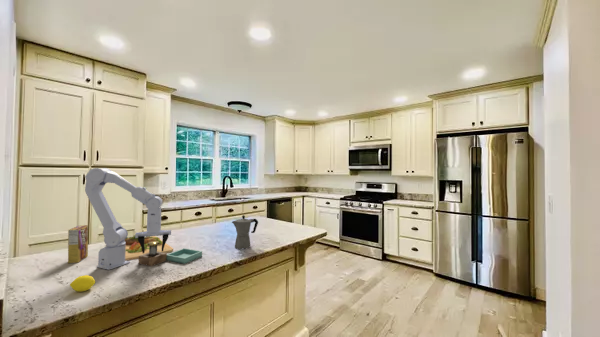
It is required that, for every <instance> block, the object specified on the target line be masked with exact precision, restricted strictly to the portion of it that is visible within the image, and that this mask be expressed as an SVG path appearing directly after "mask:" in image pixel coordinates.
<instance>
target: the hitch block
mask: <svg viewBox="0 0 600 337" xmlns="http://www.w3.org/2000/svg"><path fill="white" fill-rule="evenodd" d="M167 254H168V253H163V252H157V255H156V256H153V257H151V256H149V253H146V254H143V255H140V256H139V258H138V264H139V265H144V266H149V267H153V266H155V265H158V264H162V263H163V262H164V263H165V262H166V261H167V260H166V259H167Z"/></svg>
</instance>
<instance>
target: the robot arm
mask: <svg viewBox="0 0 600 337" xmlns="http://www.w3.org/2000/svg"><path fill="white" fill-rule="evenodd" d="M84 177H85V187H84V192H85V194H86V196H87V198H88V200H89V202H90V204H91V206H92V207H93V209H94V212H95V214H96V215H97V217H98V219H99V221H100V224H101V225H102V227H103V229H102V235H103V241H104V244H105V246H104V247H102V248H100V249H99V251H98V258H97V260H98V261H97V265H96V267H97V268H100V269H104V270H108V271H109V270H112V269H116V268H119V267H121V266H124V265H127V264H130V263H131V261H130V260H127V261H125V252H126V242H125V239H126V238H127V237H128V235H129V234H128V233H129V232H128V230H127V229H126V228H124V227H123V226H122V224H121V223H120V222H118V221H117V219H116V217H115V215H114V213H113V210H112V208H111V207H110V205H109V203H108V201H107V199H106V197H105V195H104V193H103V191H102V190H103V189H104V187H105V185H106V184H107V183H109V184H115V185H117V186H119V187H120V188H122V189H124V190H126V191H128V192H129V193H130V194H131V195H130V196H131V197H132V198H133V199H135V200H137V201H139V203H142V204H143V205H145V207H146V208H147V216H146V218H147V219H146V231H141V232H140V231H139V232H135V234H134V235H135V238H138V241H139V243H140V245H141V248H142V252H143V253H144V252H145V246H144V242H145V237H149V236H150V237H151V236H156V237H158V236H162V239H161V240H162V251H163V249H164V246H165V243H166V244H167V240H168V239H169V236H171V235H172V230H171V229H168V230H167V229H165V230H163V229H162V228H161V227H162V206H163V202H164V201H163V199H162V197H161V196H160V195H156V193H153V192H150V191H149V190H147V188H146V187H145V186H143V187H142V186H136V185H134V183H131V182H130V181H128V180H127V179H126V178H124V177H123V176H121V175H120V174H119V173H117V172H116V171H112V169H110V168H109V167H108V168H107V167H100V168H98V167H94V168H91V169H89V171H88V172H87V174H86V175H85V176H84Z"/></svg>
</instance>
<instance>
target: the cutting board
mask: <svg viewBox="0 0 600 337" xmlns="http://www.w3.org/2000/svg"><path fill="white" fill-rule="evenodd" d="M154 241H158V242H159V244H158V245H157V252H163V253H167V254H170V253H172V252H174V248H173V247H172V246H171V245H169V244H167V242H166V243H165V246H164V249H163V251H162V239H161V238H160V237H158V236H149V237H145V242H144V246H145V252H144V253H143V252H142V248H141V245H140V243H139V241H138V238H135V234H133V236H129V237H128V236H127V238H126V239H125V242H126V252H125V261H131V260H137V259H138V260H139V256H140V255H143V254H146V253H149V245H147V243H149V242H154Z"/></svg>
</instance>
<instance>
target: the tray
mask: <svg viewBox="0 0 600 337" xmlns="http://www.w3.org/2000/svg"><path fill="white" fill-rule="evenodd" d="M202 257H203V251H202V250H197V249H190V248H185V247H184V248H181V249H179V250H175V251H172V252H169V253H167V259H166V261H169V262H173V263H179V264H183V265H185V264H188V263H190V262H192V261H195V260H197V259H199V258H202Z"/></svg>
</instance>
